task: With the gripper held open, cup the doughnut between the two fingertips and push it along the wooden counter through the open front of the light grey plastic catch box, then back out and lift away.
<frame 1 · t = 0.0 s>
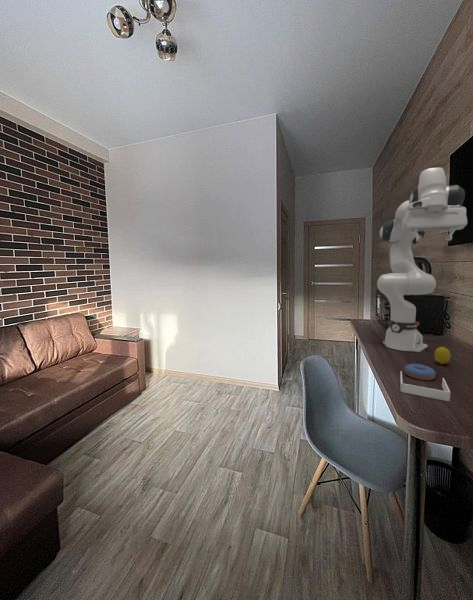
hand: (433, 240, 101), 52 cm above the table, tool tilted 20°, fingers open, 8 cm apart
lemon: (441, 364, 117), on the table
catch box: (422, 388, 94), on the table
doughnut: (419, 377, 105), on the table
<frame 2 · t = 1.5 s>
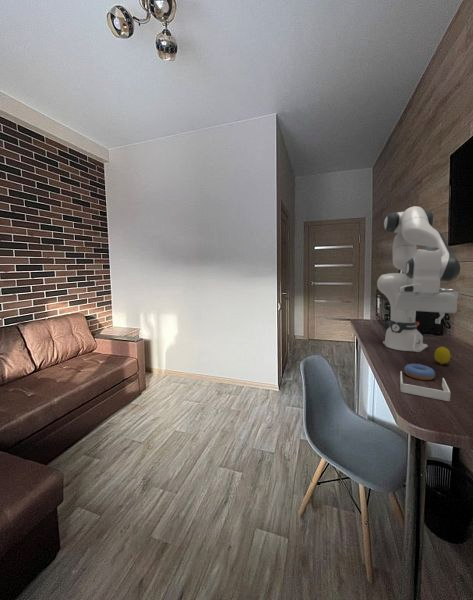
hand: (423, 322, 108), 20 cm above the table, tool pointing down, fingers open, 8 cm apart
nothing on the table moved.
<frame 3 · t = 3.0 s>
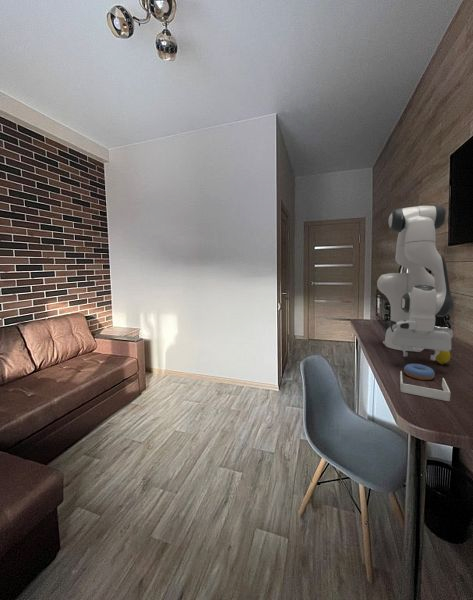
hand: (418, 358, 111), 5 cm above the table, tool pointing down, fingers open, 8 cm apart
nothing on the table moved.
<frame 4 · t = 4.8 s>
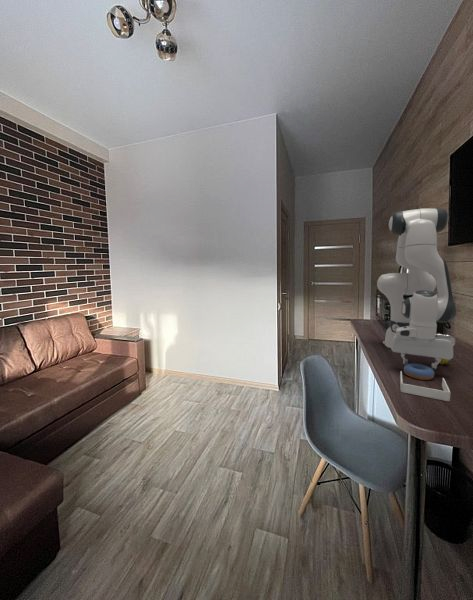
hand: (419, 366, 107), 3 cm above the table, tool pointing down, fingers open, 8 cm apart
doughnut: (418, 376, 105), on the table, touching gripper
everything else where it was.
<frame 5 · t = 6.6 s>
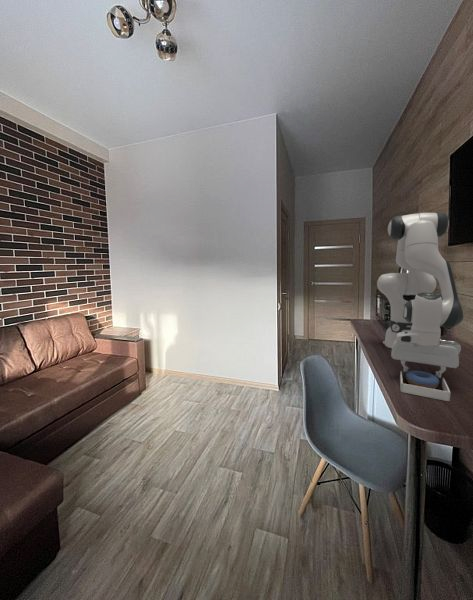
hand: (421, 374, 99), 3 cm above the table, tool pointing down
doughnut: (421, 385, 97), on the table, touching gripper
everything else where it was.
when the fingers open (3 cm above the table, at t = 8.1 s): doughnut stays where it is, on the table.
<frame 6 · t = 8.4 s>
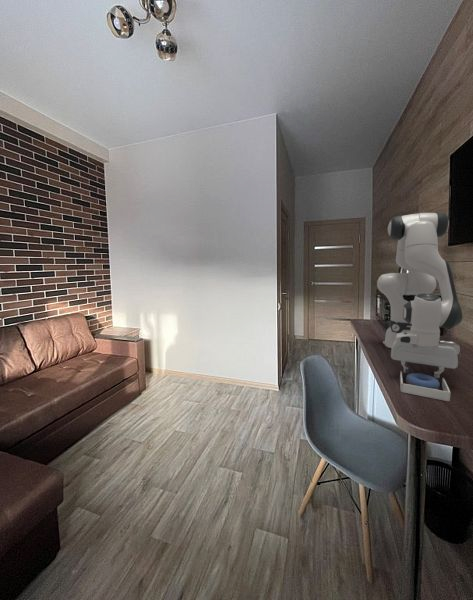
hand: (420, 374, 100), 2 cm above the table, tool pointing down, fingers open, 8 cm apart
doughnut: (421, 388, 95), on the table
everything else where it was.
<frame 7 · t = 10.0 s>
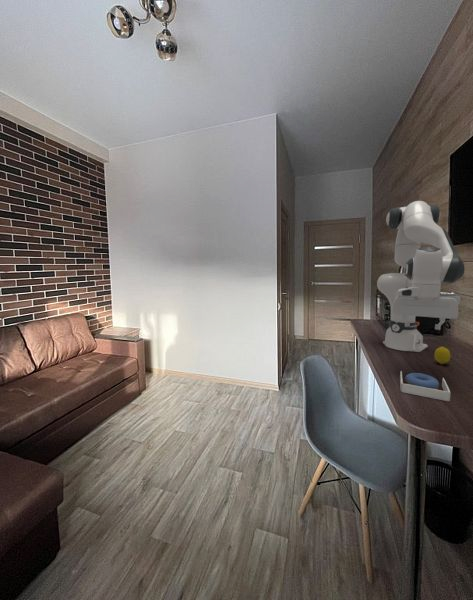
hand: (421, 328, 101), 19 cm above the table, tool pointing down, fingers open, 8 cm apart
nothing on the table moved.
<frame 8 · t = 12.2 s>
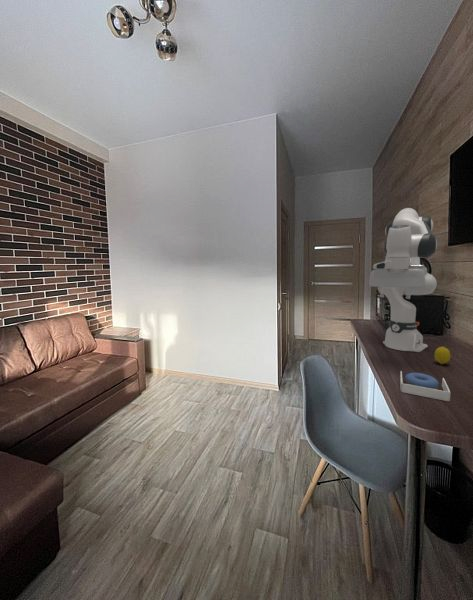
hand: (394, 298, 113), 29 cm above the table, tool pointing down, fingers open, 8 cm apart
nothing on the table moved.
at the end: doughnut 2.0 cm from the catch box (horizontally); doughnut tilted 1° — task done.
